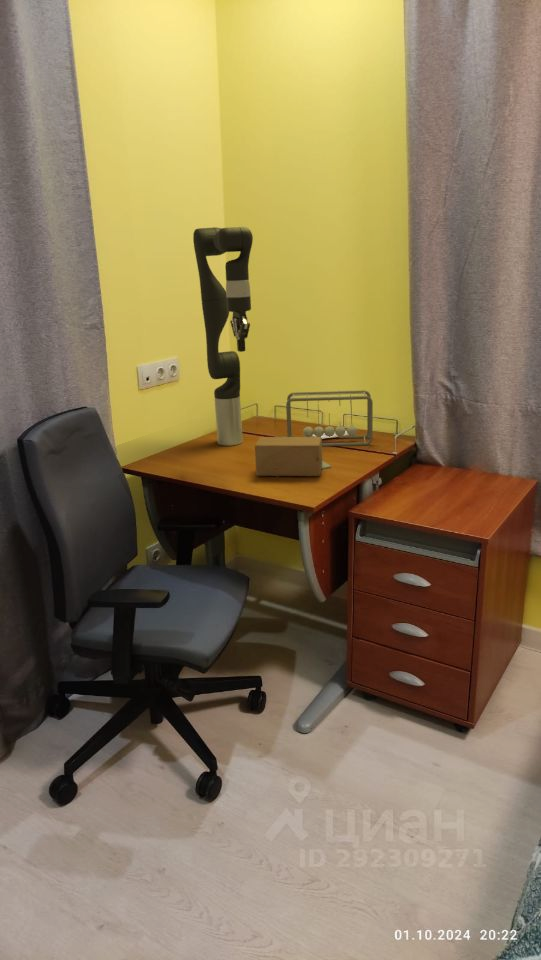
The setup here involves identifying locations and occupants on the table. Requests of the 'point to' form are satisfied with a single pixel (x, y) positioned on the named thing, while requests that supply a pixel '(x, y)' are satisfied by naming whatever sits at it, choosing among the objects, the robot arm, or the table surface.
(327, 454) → the table surface
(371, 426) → the newton's cradle
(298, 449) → the wooden block
